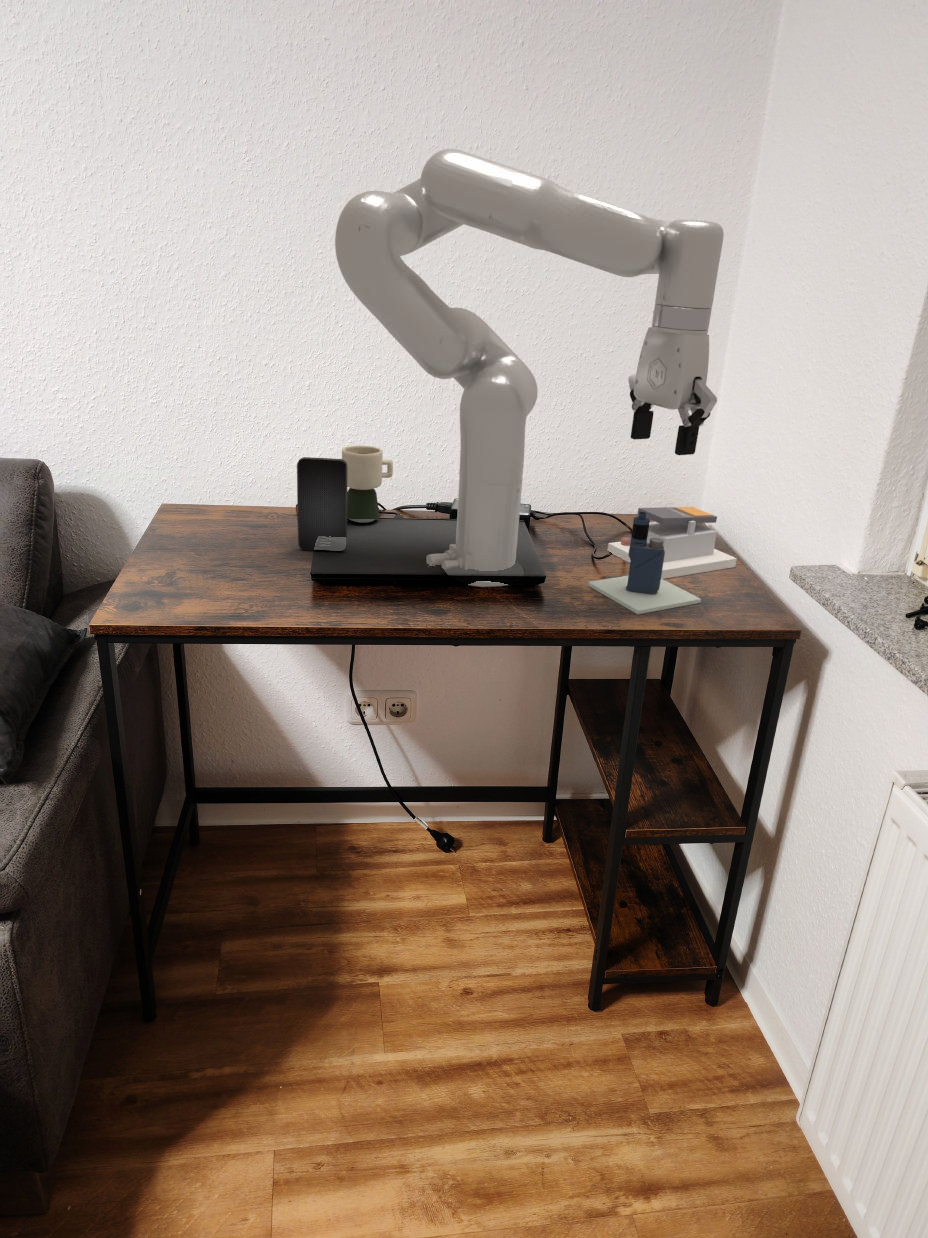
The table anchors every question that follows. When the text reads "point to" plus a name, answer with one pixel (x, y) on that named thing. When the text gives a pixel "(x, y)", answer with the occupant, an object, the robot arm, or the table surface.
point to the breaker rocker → (677, 515)
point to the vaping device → (644, 558)
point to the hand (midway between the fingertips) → (661, 446)
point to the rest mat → (644, 595)
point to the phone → (321, 499)
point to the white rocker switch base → (681, 549)
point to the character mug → (364, 479)
